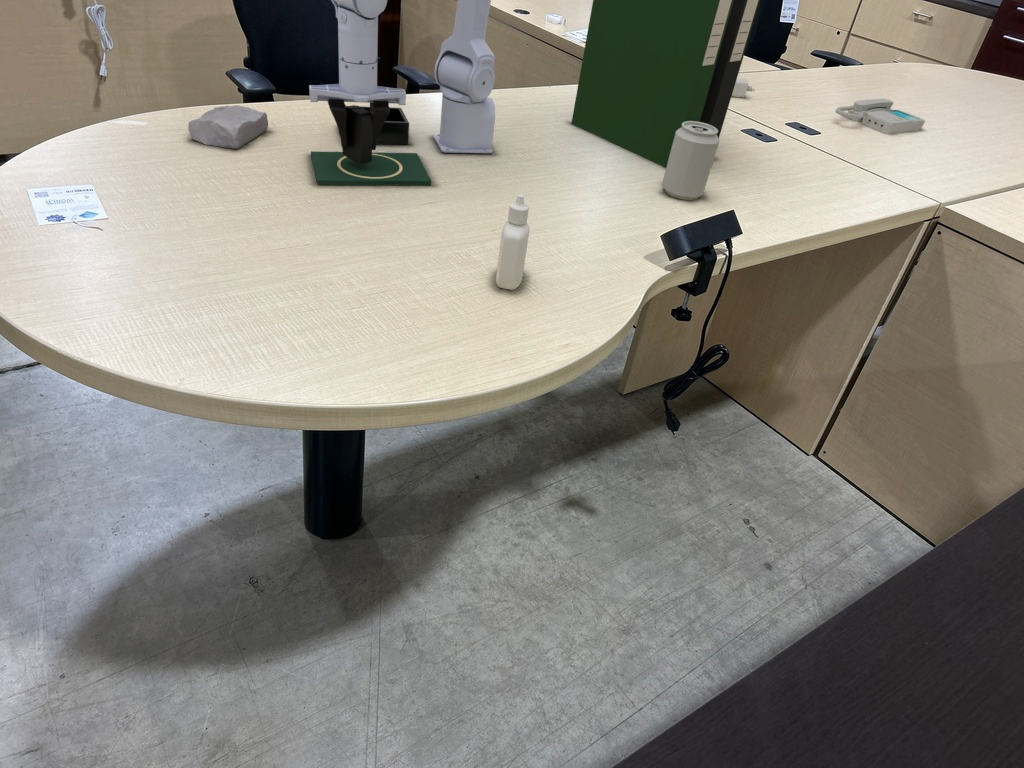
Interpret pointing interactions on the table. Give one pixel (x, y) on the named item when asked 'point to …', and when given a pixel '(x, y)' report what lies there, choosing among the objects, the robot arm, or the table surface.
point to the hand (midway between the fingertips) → (358, 147)
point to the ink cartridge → (359, 134)
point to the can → (690, 160)
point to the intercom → (881, 116)
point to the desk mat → (369, 169)
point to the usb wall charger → (741, 88)
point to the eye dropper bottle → (513, 246)
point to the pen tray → (394, 128)
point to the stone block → (228, 126)
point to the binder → (659, 69)
